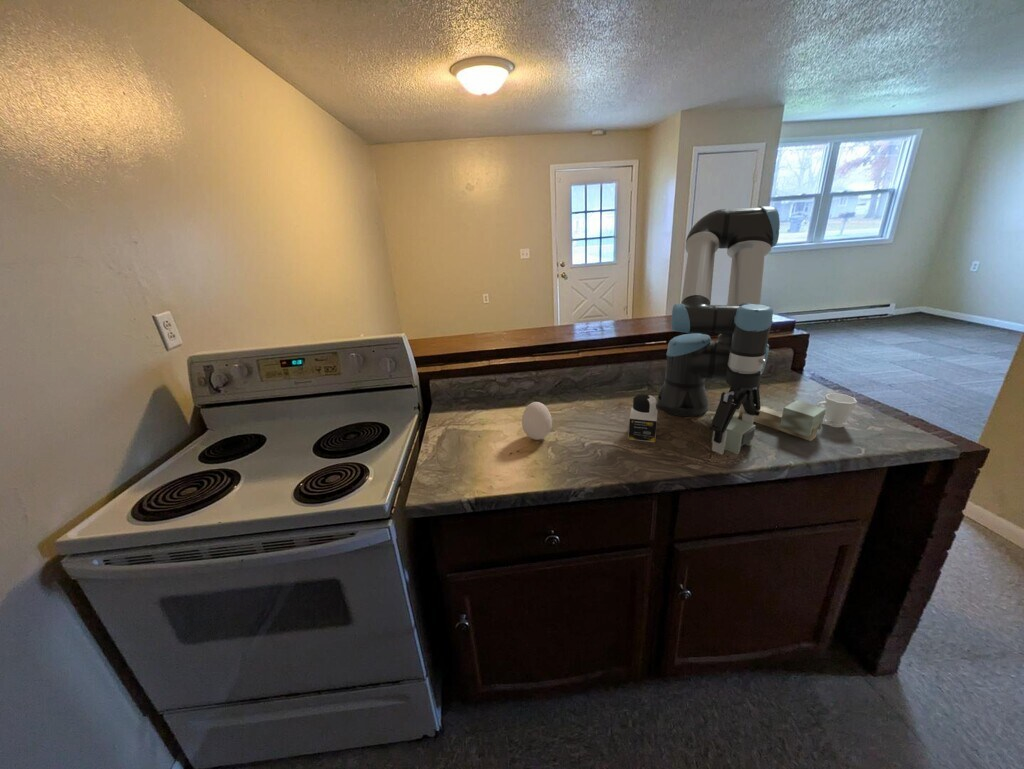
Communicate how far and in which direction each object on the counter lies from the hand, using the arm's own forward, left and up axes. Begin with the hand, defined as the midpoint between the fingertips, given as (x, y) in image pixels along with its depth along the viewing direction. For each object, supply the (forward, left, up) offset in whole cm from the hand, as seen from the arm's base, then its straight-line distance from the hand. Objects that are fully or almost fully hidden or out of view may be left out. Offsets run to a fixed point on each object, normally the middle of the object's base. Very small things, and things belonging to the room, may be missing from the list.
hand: (731, 443), depth 106 cm
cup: (+11, +30, 0) cm, 32 cm away
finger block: (0, 0, 0) cm, 0 cm away
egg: (-36, -38, 0) cm, 52 cm away
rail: (+2, +18, 0) cm, 18 cm away
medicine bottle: (-18, -14, 0) cm, 23 cm away
